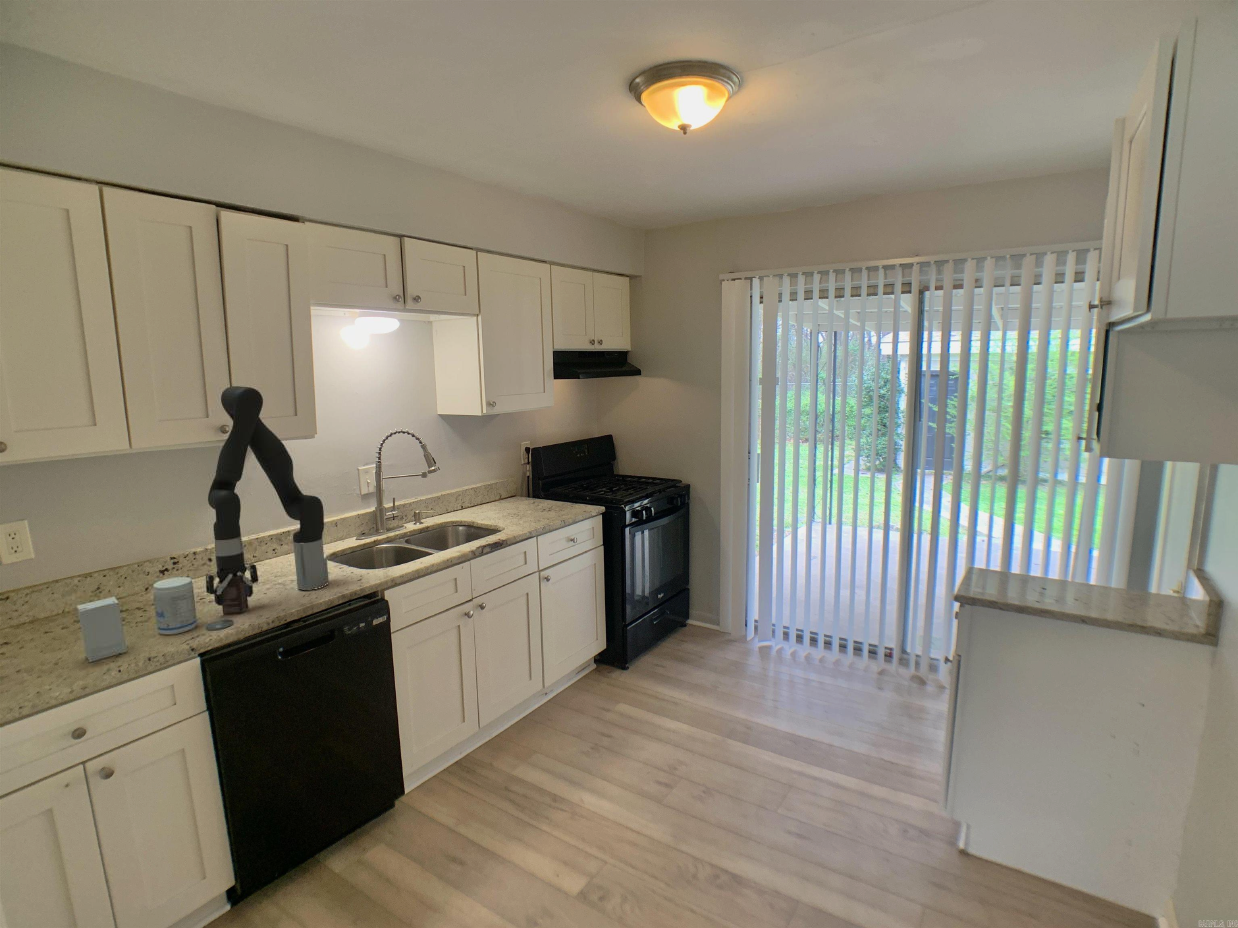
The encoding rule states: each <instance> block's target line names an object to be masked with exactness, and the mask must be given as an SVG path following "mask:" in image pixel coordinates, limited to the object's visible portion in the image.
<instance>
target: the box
mask: <svg viewBox="0 0 1238 928" xmlns="http://www.w3.org/2000/svg"><path fill="white" fill-rule="evenodd" d="M243 575H244V576H246V573H245V574H243ZM243 575H240V576H233V577H232V578H231V579H230V580H229V583H228V584H227V585H226V587H225V588H224V589H223V590H222V592H221V593H220V594H222V601H223V605H221V607H222V614H223V615H234V614H244V613H245V612H246V611H248V610H249V600H248V598H249V597H247V589H246V582H245V581H244V580H243ZM218 581H219V582H220V584H222V583H223V582H222V581H221V580H220V579H219V578H218ZM247 609H248V610H247ZM244 611H245V612H244ZM243 612H244V613H243Z"/></svg>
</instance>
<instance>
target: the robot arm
mask: <svg viewBox="0 0 1238 928" xmlns="http://www.w3.org/2000/svg"><path fill="white" fill-rule="evenodd" d="M220 402H221V405H222V409H224V411H225V412H226V414H227V415H228V417H229V418H230V419H231V421H232V427H231V430H230V432H229V434H228V436H227V439H226V440H225V441H224V444H223V445H222V447H221V450H220V451H219V455H218V457H217V458H218V460H217V462H216V463H217V464H216V470H215V476H214V478H213V479H212V482H211V485H210V488H209V491H208V495H207V502H208V505H209V507H210V508H212V509H213V510H214V511H215V521H214V523H213V539H214V554H215V564H216V570H217V571H216V573H212V574H209V573H207V574H206V575H205V587H206V589H205V591H206V592H205V593H206V594H209V595H213V597H214V602H215V604H216V605H218V606H221V607H222V605H223V601H222V594H221V592H222V590H223V589H224V588H225V587H226V585H227V584H228V583H229V580H230V579H231V578H232V577H233V576H240V575H243V574H245V576H244V575H243V580H244V581H245V582H246V589H247V598H252V595H253V594H254V588H253V585H254V584H256V583H258V582H259V575H258V569H257V565H256V564H254V563H249V564H248V565H246V564H245V563H246V562H245V561H246V560H245V553H244V551H245V550H244V548H245V547H244V543H243V540H242V533H241V532H242V531H241V525H240V519H241V510H242V505H241V499H240V496H239V495H238V494H237V493H236V491H235V490H236V487H237V484H238V482H240V481H241V479H242V476H243V472H244V468H245V461H246V458H247V453H248V448H250V450H251V452H252V453H253V455H254V458H255V459H256V461H257V462H258V464H259V466H260V467H261V469H262V470H263V472H264V473H265V475H266V476H267V479H268V480H269V482H270V483H271V486H272V487H273V488H274V491H275V492H276V494H277V496H278V499H279V501H280V503H281V506H282V507H283V509H284V511H285V515H287V516H288V518H290V519H291V520H295V521H299V530H297V531H295V532H294V533H293V534H292V542H293V543H292V544H293V553H294V564H295V565H294V566H295V573H296V576H295V577H296V586H297V589H298V588H299V589H303V590H308V589H315V588H319V587H322V586H324V585H325V584H327V583H329V584H330V582H329V569H328V560H327V558H326V557H325V552H324V541H323V533H324V530H325V518H324V517H325V513H324V504H323V502H322V500H321V499H320V497H318V496H315V495H310V494H304V493H303V492H302V491H301V489H300V488H299V486H298V484H297V483H296V480H295V476H294V463H293V462H294V461H293V459H292V457H291V454H290V453H289V451H288V449H287V447H286V445H285V444H284V443H283V442H282V440H281V439H280V438H279V437H278V436H277V435H276V434H275V433H274V432H273V431H272V430H271V429H270V428H269V427H268V426H267V425H266V424H265V423H264V422H263V420H262V419H261V418H260V415H261V412H262V408H263V406H264V405H263V404H264V398H263V395H262V394H261V392H260V391H259V390H258V389H256V388H254V387H249V386H240V385H239V386H238V385H234V386H233V385H232V386H229V387H227V388H225V389H224V390H223V391H222V393H221V396H220ZM247 571H248V572H249V576H250V579H249V578H248V577H247V576H246V572H247ZM216 578H217V579H218V581H217V583H216V584H215V582H216ZM219 579H220V580H221V581H222V582H223V583H222V584H220V582H219ZM324 587H325V586H324Z"/></svg>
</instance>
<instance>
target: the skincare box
mask: <svg viewBox="0 0 1238 928" xmlns="http://www.w3.org/2000/svg"><path fill="white" fill-rule="evenodd" d="M76 607H77V614H78V619H79V624H80V629H81V634H82V640H83V645H84V649H85V655H86V657H87V660H88V663H92V662H95V661H99V660H102V659H105V658H109V657H112V656H117V655H120V654H119V653H121V654H124V653H127V651H128V650H127V643H126V640H125V632H124V627H123V621H122V617H121V610H120V603H119V601H118V599H117V598H116V597H115V596H112V597H108V598H103V599H99V600H95V601H91V602H87V603H83V604H79V605H76Z"/></svg>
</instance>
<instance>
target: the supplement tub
mask: <svg viewBox="0 0 1238 928" xmlns="http://www.w3.org/2000/svg"><path fill="white" fill-rule="evenodd" d="M152 591H153V600H154V601H153V602H154V603H153V604H154V610H155V611H154V612H155V618H156V626H157V632H158V633H159V634H161V635H167V636H168V635H169V636H171V635H176V634H182V633H185V632H188V631H190V630H192V629H194V628H195V627H196V626H197V624H198V623H197V621H198V620H197V613H196V610H197V609H196V601H195V592H194V583H193V579H192V578H191V577H187V576H179V577H172V578H166V579H162V580H160V581H157V582H155V583H154V584H153V587H152Z"/></svg>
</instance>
